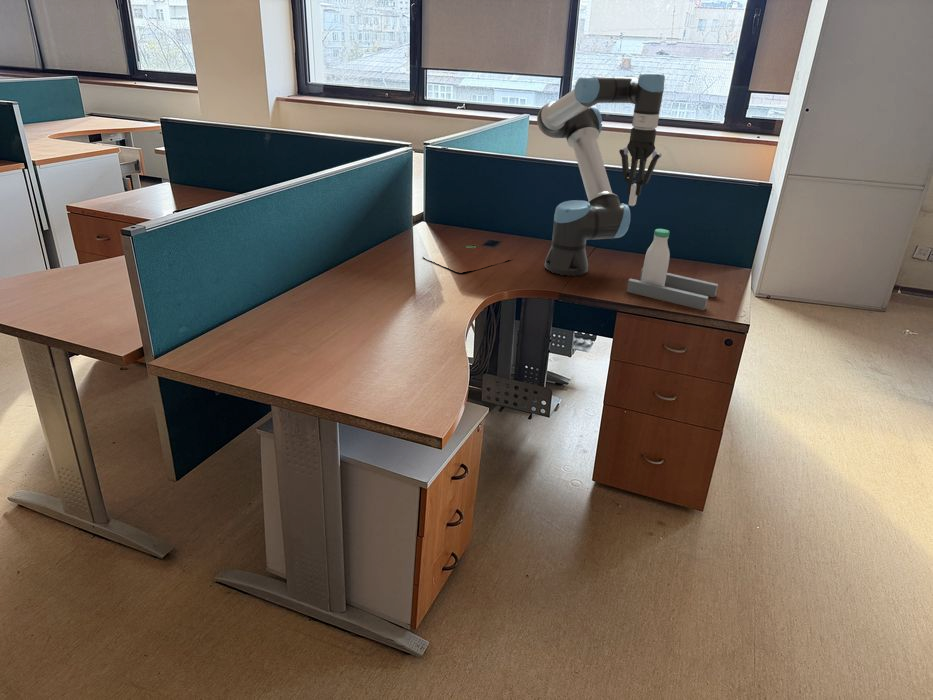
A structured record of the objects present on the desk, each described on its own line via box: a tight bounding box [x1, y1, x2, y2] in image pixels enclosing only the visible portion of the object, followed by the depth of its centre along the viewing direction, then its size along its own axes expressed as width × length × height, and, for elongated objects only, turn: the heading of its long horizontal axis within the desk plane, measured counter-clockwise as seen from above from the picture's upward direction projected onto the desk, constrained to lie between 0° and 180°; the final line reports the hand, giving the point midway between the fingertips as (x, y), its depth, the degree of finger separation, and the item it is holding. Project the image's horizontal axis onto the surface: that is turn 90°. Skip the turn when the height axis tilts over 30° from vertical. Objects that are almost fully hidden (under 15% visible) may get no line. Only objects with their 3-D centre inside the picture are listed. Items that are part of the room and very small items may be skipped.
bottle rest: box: [626, 267, 719, 311], centre depth 211 cm, size 25×15×4 cm, turn 58°
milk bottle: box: [640, 228, 671, 287], centre depth 211 cm, size 8×8×20 cm
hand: (632, 204), depth 208 cm, fingers closed
